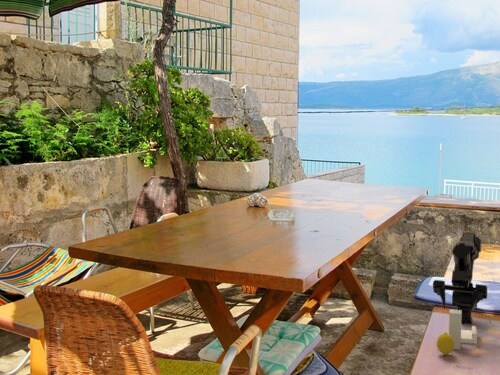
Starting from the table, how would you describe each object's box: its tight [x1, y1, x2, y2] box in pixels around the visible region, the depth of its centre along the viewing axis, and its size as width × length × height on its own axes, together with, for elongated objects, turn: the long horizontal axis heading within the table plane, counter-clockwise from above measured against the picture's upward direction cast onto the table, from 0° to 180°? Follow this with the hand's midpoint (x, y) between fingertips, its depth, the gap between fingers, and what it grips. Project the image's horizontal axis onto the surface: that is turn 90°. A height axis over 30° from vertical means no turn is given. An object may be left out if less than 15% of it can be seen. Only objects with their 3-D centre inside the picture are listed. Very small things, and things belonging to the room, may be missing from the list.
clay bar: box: [448, 308, 462, 350], centre depth 211 cm, size 4×4×13 cm
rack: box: [461, 325, 478, 345], centre depth 219 cm, size 9×9×4 cm
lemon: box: [436, 332, 454, 356], centre depth 204 cm, size 6×6×8 cm
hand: (457, 309), depth 215 cm, fingers open, 9 cm apart
